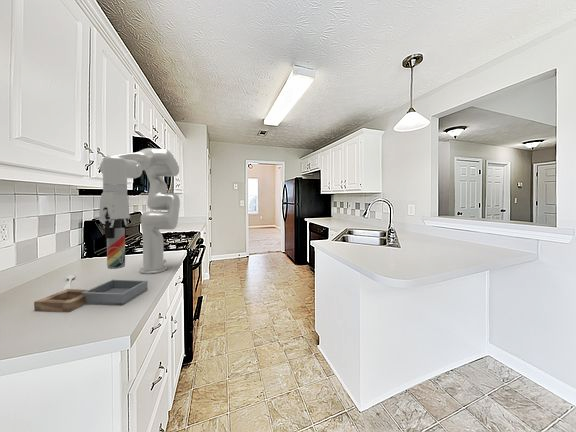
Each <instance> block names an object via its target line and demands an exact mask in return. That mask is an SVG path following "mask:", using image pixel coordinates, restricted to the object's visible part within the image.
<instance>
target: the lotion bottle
mask: <svg viewBox="0 0 576 432" xmlns="http://www.w3.org/2000/svg"><path fill="white" fill-rule="evenodd" d="M121 227H122V219H117V220H115V221H114V225H113V228H114V230H115V237H114V238H106V266H107V269H108V270H109V269H110V270H117V269H122V268H123V269H124V268H125V266H126V236H125V228H121Z"/></svg>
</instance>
